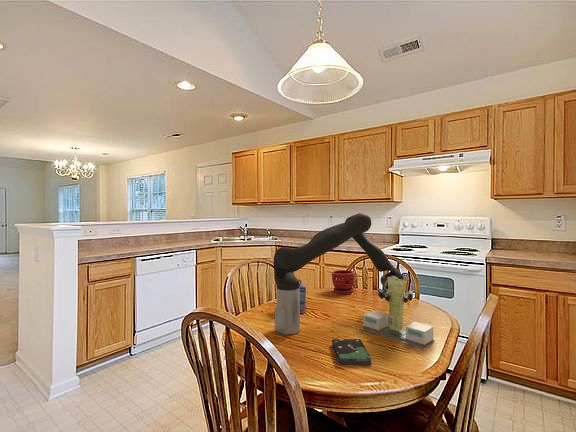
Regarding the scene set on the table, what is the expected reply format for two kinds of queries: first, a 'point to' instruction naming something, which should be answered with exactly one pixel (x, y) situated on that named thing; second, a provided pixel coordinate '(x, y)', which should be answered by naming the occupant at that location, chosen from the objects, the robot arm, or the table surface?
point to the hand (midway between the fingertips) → (396, 299)
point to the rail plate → (396, 335)
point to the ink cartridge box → (302, 298)
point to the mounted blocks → (413, 330)
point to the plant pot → (343, 281)
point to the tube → (396, 302)
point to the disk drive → (351, 352)
